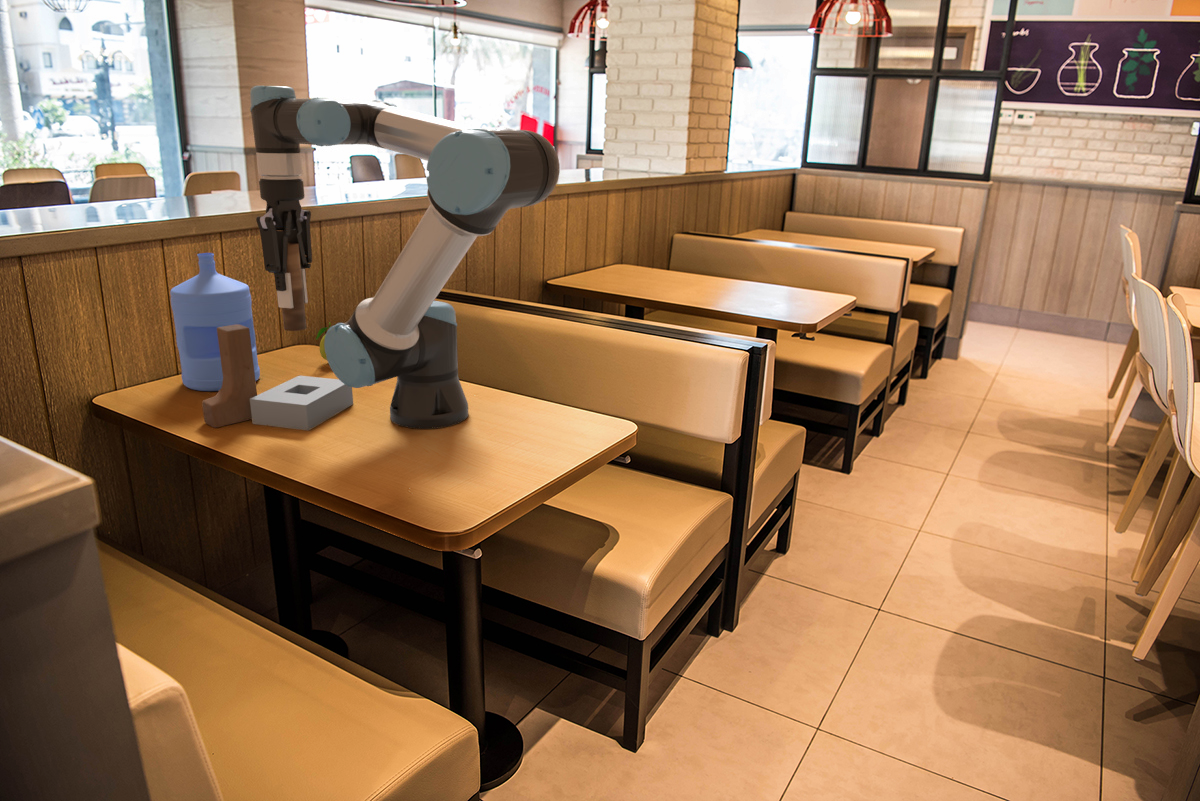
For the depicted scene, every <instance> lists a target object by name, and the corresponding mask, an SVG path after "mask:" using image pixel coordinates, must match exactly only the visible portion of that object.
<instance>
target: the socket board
mask: <svg viewBox="0 0 1200 801" xmlns="http://www.w3.org/2000/svg"><path fill="white" fill-rule="evenodd" d="M352 405H354V395H353V387H349V386H347V385H345V384H344V383H342V382H341V381H340V380H339V379H338V378H327V377H318V376H316V377H315V376H308V375H298V376H295V377H293V378H291V379H289V380H287V381H285V382H283V383H281V384H277V385H276V386H274V387H271V388H269V389H268V390H265V391H263V392H261V393H259V394H257V396H255V397H253V398H251V399H250V406H251V414H252V419H251V420H252V425H260V426H267V425H268V427H277V428H283V429H284V428H285V429H294V430H300V429H301V430H303V431H310V430H312V429H313V428H315V427H317V426H318V425H320V424H322V423H324V422H325V421H328V420H329V419H331V418H333V417H334V416H336V415H337V414H339V413H341V412H342V411H344V410H345V409H347V408H349V407H350V406H352ZM301 430H300V431H301Z"/></svg>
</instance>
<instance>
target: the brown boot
mask: <svg viewBox="0 0 1200 801" xmlns="http://www.w3.org/2000/svg"><path fill="white" fill-rule="evenodd" d="M217 335H218V343H219V350H220V358H221V366H222V373H223V382H222V388H221V389H220V390H219V391H217V393H216V395H215V396H212V397H209V398H206V399H204V400H202V401H201V405H202V412H203V419H204V423H205V424H207V425H209V426H210V427H212V428H214V429H218V428H221V426H222V427H224V426H225V425H226V426H230V425H233V424H237V423H241V422H242V423H243V422H246V421H249V420H252V414H251V406H250V399H251V398H253V397H255V396H257V395H258V390H257V383H256V382H257V381H255V372H254V364H253V355H252V347H251V338H250V330H249V328H248V327H245V326H242V325H240V324H235V325H229V326H223V327H218V328H217Z"/></svg>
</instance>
